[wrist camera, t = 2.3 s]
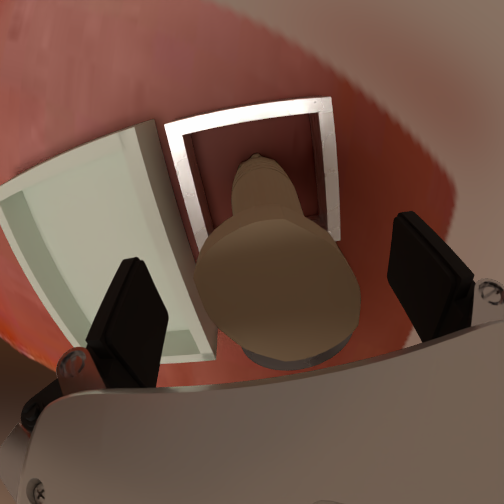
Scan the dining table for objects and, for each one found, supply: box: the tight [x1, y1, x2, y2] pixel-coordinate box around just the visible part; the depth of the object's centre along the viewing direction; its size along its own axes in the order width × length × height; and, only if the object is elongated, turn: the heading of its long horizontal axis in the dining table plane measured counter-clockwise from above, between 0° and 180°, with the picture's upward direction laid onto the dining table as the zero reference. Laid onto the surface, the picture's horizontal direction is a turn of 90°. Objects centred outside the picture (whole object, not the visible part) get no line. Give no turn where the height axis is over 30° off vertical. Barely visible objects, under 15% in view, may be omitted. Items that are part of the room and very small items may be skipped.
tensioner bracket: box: [164, 96, 353, 370], centre depth 21 cm, size 21×11×8 cm, turn 10°
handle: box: [193, 154, 361, 362], centre depth 16 cm, size 5×6×15 cm
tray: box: [0, 119, 218, 364], centre depth 24 cm, size 22×16×4 cm
